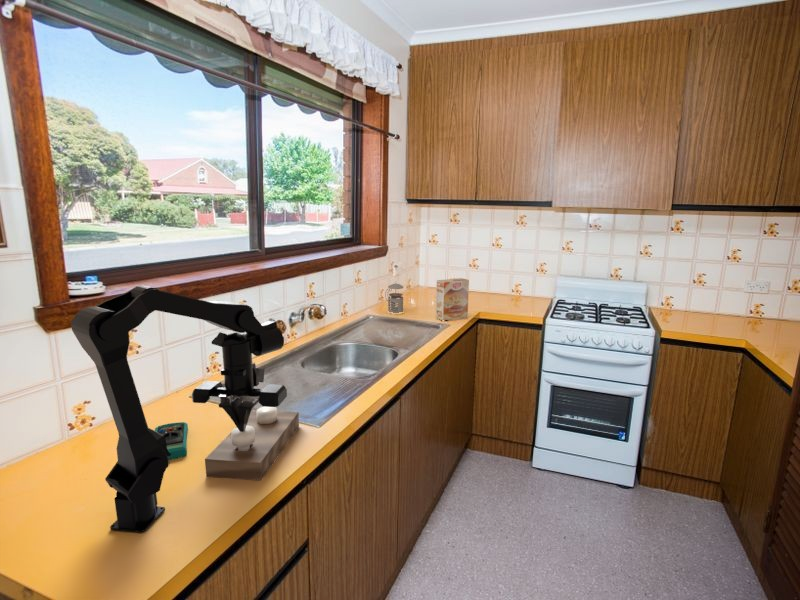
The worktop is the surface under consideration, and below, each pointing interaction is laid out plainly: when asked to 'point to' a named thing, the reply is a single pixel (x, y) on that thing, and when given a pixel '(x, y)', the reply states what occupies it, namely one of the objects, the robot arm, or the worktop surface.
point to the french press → (393, 298)
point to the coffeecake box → (452, 299)
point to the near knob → (243, 438)
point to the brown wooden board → (253, 449)
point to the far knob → (266, 415)
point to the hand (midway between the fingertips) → (242, 430)
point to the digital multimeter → (175, 438)
